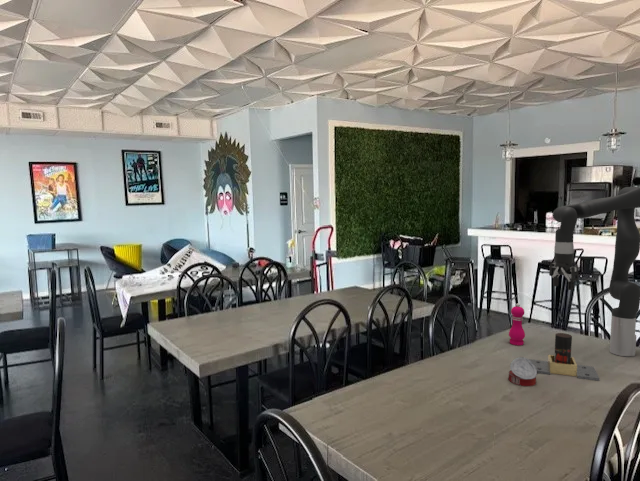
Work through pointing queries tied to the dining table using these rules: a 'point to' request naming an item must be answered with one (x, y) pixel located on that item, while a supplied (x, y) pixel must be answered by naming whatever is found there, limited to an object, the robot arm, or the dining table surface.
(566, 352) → the deodorant
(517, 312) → the pepper mill
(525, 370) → the canned food
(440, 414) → the dining table surface
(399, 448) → the dining table surface
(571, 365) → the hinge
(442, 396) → the dining table surface
